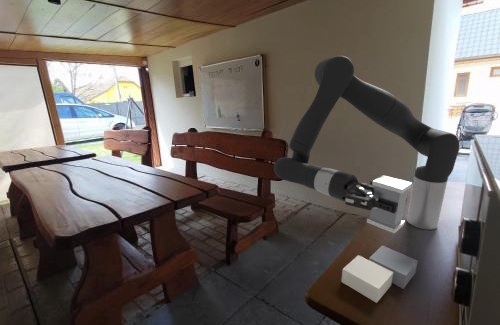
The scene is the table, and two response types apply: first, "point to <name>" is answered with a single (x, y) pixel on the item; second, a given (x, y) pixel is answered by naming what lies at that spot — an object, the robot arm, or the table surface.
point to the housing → (394, 193)
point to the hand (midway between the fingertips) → (400, 205)
